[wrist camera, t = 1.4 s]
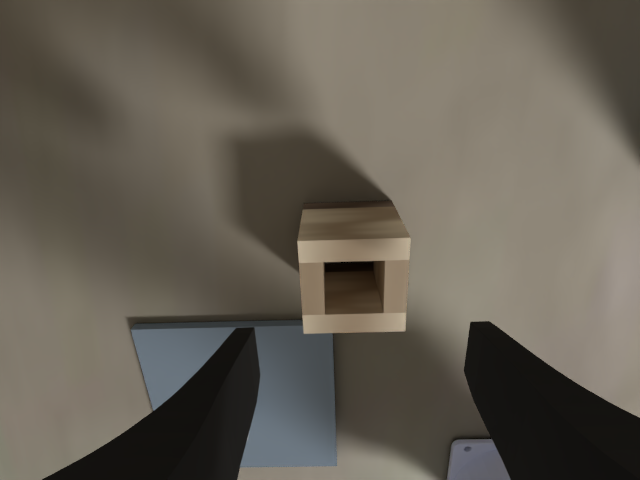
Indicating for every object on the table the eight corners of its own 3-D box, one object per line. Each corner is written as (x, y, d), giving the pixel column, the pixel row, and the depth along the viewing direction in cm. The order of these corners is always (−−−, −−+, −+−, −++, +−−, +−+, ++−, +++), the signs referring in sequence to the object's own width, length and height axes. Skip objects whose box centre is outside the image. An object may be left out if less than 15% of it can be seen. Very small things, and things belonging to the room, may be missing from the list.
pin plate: (332, 318, 23) (333, 353, 20) (336, 458, 28) (337, 501, 25) (135, 323, 24) (108, 358, 21) (172, 460, 28) (155, 503, 26)
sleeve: (391, 200, 20) (410, 237, 16) (388, 277, 22) (405, 331, 18) (303, 203, 20) (297, 241, 16) (308, 279, 22) (303, 333, 18)
